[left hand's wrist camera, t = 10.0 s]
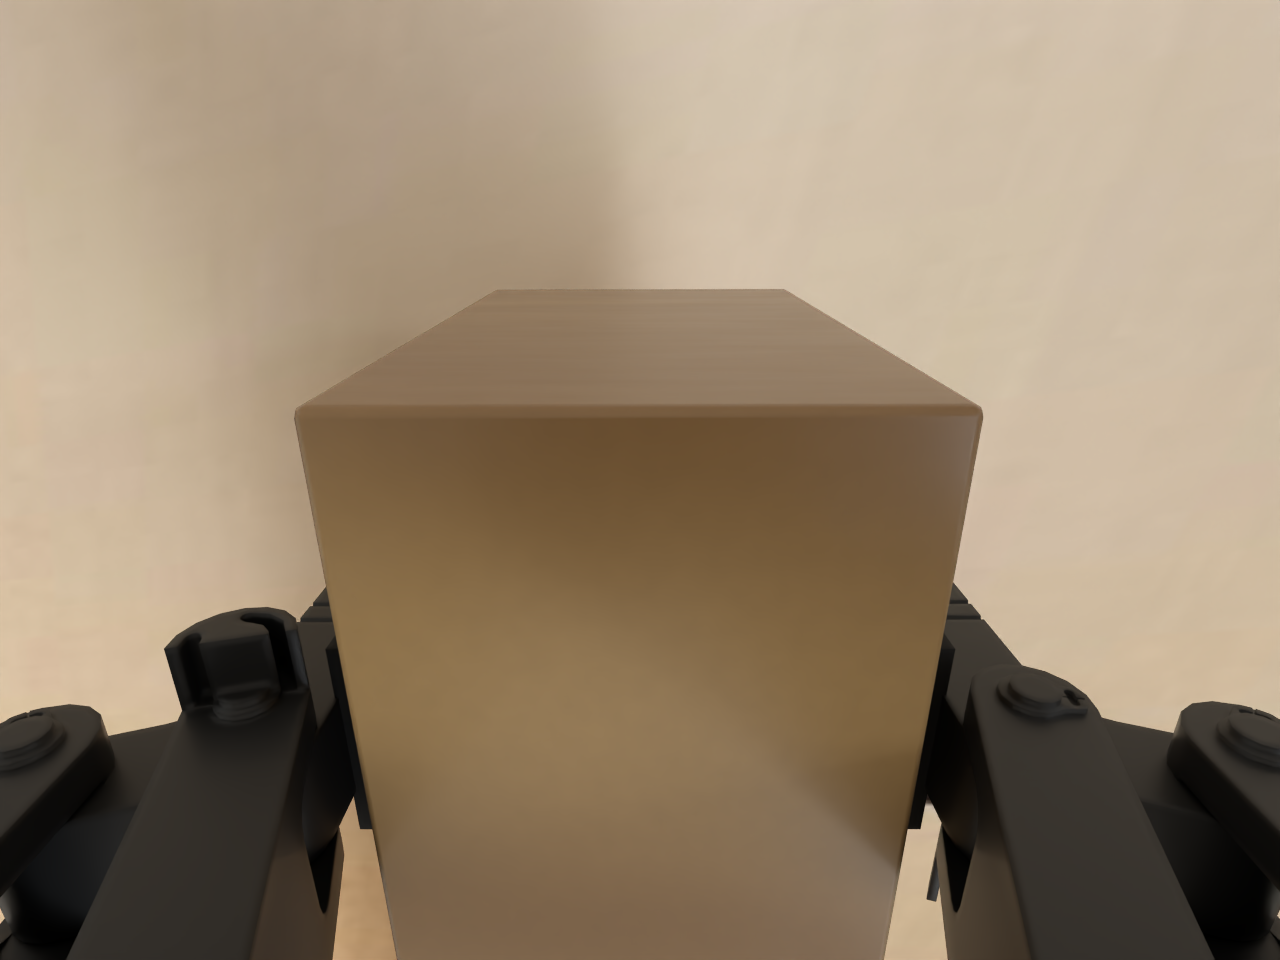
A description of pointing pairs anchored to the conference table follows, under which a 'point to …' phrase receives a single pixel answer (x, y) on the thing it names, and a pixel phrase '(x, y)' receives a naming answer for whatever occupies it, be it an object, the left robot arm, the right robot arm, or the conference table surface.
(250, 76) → the conference table surface
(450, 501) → the beam
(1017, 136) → the conference table surface
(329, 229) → the conference table surface
